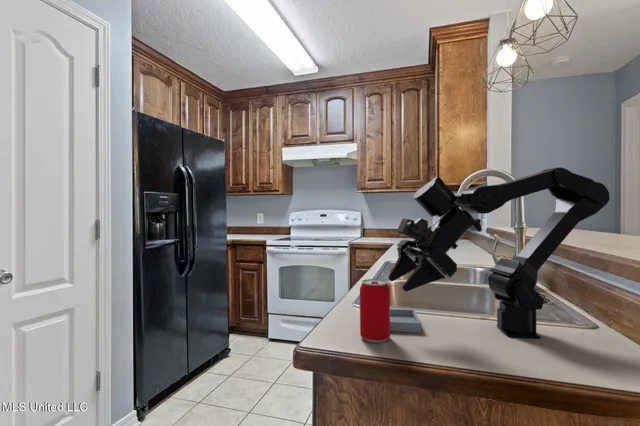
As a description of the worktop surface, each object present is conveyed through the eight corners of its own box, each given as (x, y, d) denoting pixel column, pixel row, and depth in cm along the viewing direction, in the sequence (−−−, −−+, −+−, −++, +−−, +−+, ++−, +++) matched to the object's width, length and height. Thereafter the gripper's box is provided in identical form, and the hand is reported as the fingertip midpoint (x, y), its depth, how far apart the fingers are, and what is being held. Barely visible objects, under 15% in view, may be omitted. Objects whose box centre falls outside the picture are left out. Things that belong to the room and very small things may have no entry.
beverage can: (388, 333, 71) (388, 278, 71) (391, 345, 65) (391, 285, 65) (359, 332, 72) (359, 278, 72) (360, 343, 66) (360, 284, 66)
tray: (414, 317, 81) (414, 309, 81) (420, 332, 71) (420, 323, 71) (373, 316, 83) (373, 308, 83) (374, 330, 73) (374, 321, 73)
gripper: (405, 206, 79) (360, 252, 78) (441, 204, 60) (382, 265, 59) (436, 238, 79) (392, 284, 78) (481, 246, 61) (424, 307, 60)
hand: (396, 284), depth 69 cm, fingers open, 9 cm apart
